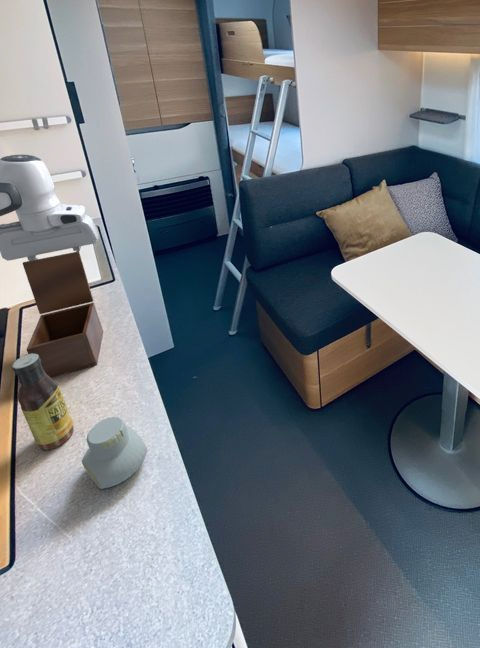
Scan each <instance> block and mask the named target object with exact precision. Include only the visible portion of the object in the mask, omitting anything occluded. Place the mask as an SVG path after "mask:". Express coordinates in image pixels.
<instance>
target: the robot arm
mask: <svg viewBox="0 0 480 648" xmlns="http://www.w3.org/2000/svg"><path fill="white" fill-rule="evenodd" d="M55 189H56V188H55V183H54V180H53V178H52V175H51V173H50V171H49V168H48V166H47V164H45V162H44V161H43V160H42V159H41V158H40V157H37V156H35V155H32V154H31V155H30V154H10V155H5V156H3V157H1V158H0V217H2V216H6V215H9V214H10V213H12V212H15V214H16V216H17V219H18V221H12V222H9V223H2V224H0V256H1V259H3V260H5V261H9V262H10V261H15V260H19V259H24V258H25V259H26V258H27V261H32V260H37V259H39V258H38V257H37V256H39V255H44V254H50V253H55V252H59V251H64V250H70V249H72V250H73V251H74V252H78V251H79V252H80V251H81V248H82V247H84V246H89V245H90V246H91V245H94V244H97V242H98V240H99V239H100V233H99V230H98V228H97V226H96V224H95V222H94V220H93V218H92V217H91V216H89V215H88V214H87V210H86V207H85V206H84V205H81V204H80V205H78V204H68V203H67V204H66V203H61V200H60V199H59V197H58V196H57V195H56V191H55Z"/></svg>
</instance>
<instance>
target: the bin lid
mask: <svg viewBox="0 0 480 648" xmlns="http://www.w3.org/2000/svg"><path fill="white" fill-rule="evenodd" d="M22 266H23V269H24V273H25V275H26V278H27V281H28V284H29V287H30V290H31V292H32V296H33V299H34V302H35V305H36V307H37V311H38V313H39V315H45V314H48V313H52V312H56V311H61V310H65V309H69V308H73V307H77V306H81V305H85V304H90V303H94V297H93V293H92V290H91V288H90V287H91V286H90V284H89V283H90V282H89V281H88V277H87V273H86V270H85V267H84V262H83V261H82V257H81V254H80V251H78V252H76V251H74V252H68V253H63V254H58V255H53V256H47V257H43V258H38V259H37V260H32V261H29V260H27V261H23V262H22Z"/></svg>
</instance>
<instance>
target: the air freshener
mask: <svg viewBox="0 0 480 648" xmlns="http://www.w3.org/2000/svg"><path fill="white" fill-rule="evenodd" d="M86 444H87V446H88V449H87V450H86V451H85V453H84V455H83V457H82V459H81V465H82V467H83V468H84V470H85V471H86V473H87V475H88V476H89V477H90V479H91V481H93V483H94V484H95V485H96V486H97V487H98V488H99V489H100V490H101V489H109V488H111V487H112V488H113V487H115V486H117V485H120V484H121V483H122V482H124V481H126V480H128V479H129V478H130V477H131V476H132V475H134V473H135V472H137V471H138V469H139V468H140V467H141V465H142V464H143V462H144V461H145V459H146V457H147V453H148V447H147V445H146V444H145V442H144V440H143V439H142V437H141V436H140V435H139V434H138V433H137V432H136V431H135V429H133V428H132V427H130V426H126V423H125V421H124V419H123V418H122V417H119V416H110V417H107V418H104V419H102V420H100V421H99V422H97V423H96V424H94V426H93V427H92V428H91V429H90V430H89V431H88V433H87V436H86Z"/></svg>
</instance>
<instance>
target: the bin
mask: <svg viewBox="0 0 480 648" xmlns="http://www.w3.org/2000/svg"><path fill="white" fill-rule="evenodd" d="M103 336H104V329H103V326H102V323H101V320H100V317H99V314H98V311H97V309H96V305H95V303H94V302H89V303H85V304H81V305H77V306H73V307H69V308H64V309H60V310H56V311H52V312H48V313H44V314H40V316H39V318H38V321H37V323H36V326H35V327H34V331H33V333H32V335H31V337H30V339H29V342H28V345H27V347H26V349H25V350H26V353H27V355H28V354H38V355H39V357H40V359H41V365H42V368H43V370H44V371H45V373H46V374H47V375H48V376H49V377H51V378H52V379H53V378H58V377H60V376H61V377H62V376H64V375H68V374H72V373H74V372H78V371H81V370H84V369H87V368H91V367H94V366H97V365H98V362H99V356H100V350H101V346H102V341H103Z"/></svg>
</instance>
